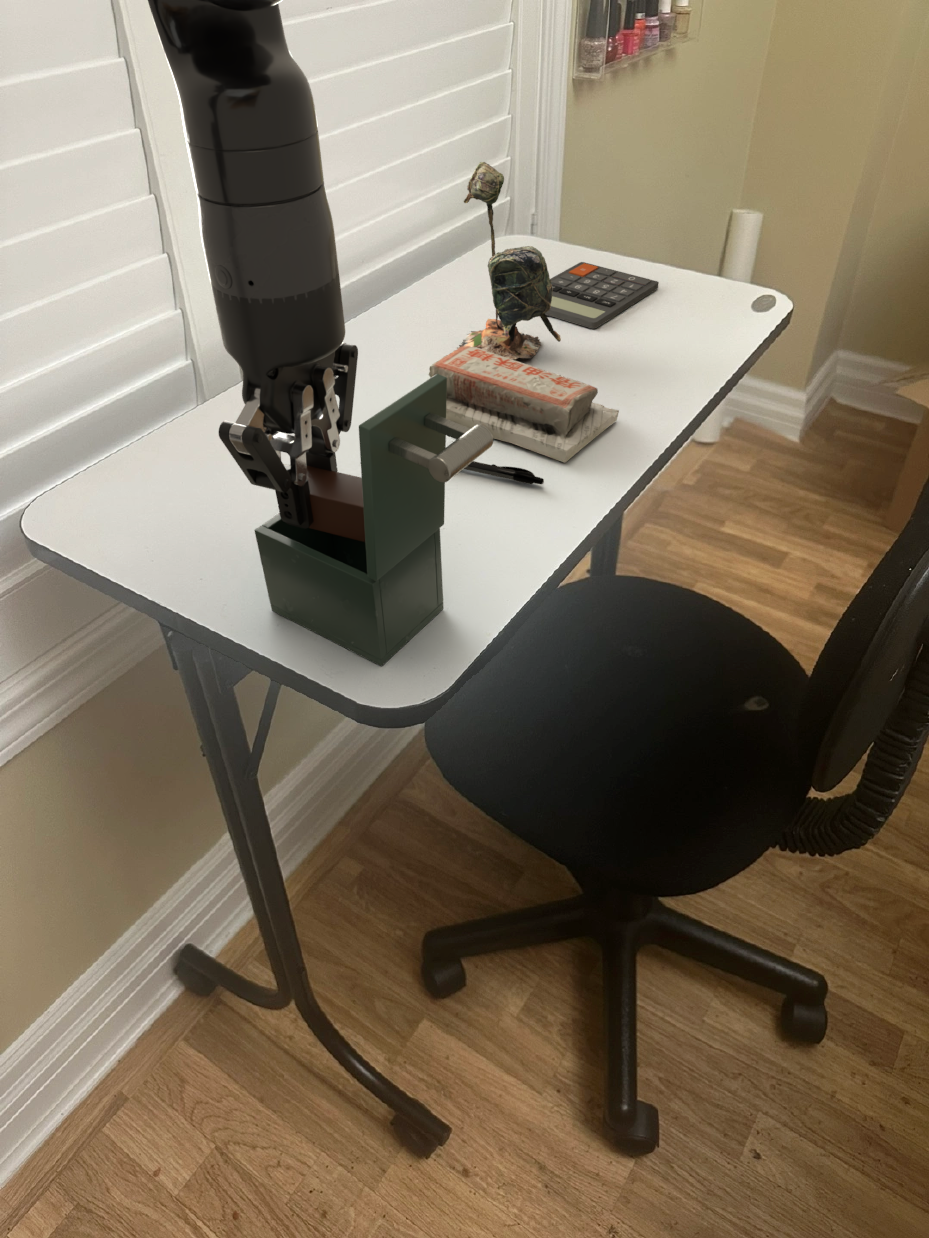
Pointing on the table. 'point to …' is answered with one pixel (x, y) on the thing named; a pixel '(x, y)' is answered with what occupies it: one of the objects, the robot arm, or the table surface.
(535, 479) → the pen
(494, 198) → the plant with pod
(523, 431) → the packaged product
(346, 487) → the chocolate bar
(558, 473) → the table surface
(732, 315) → the table surface
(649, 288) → the calculator
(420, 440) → the bin lid
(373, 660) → the green storage bin
